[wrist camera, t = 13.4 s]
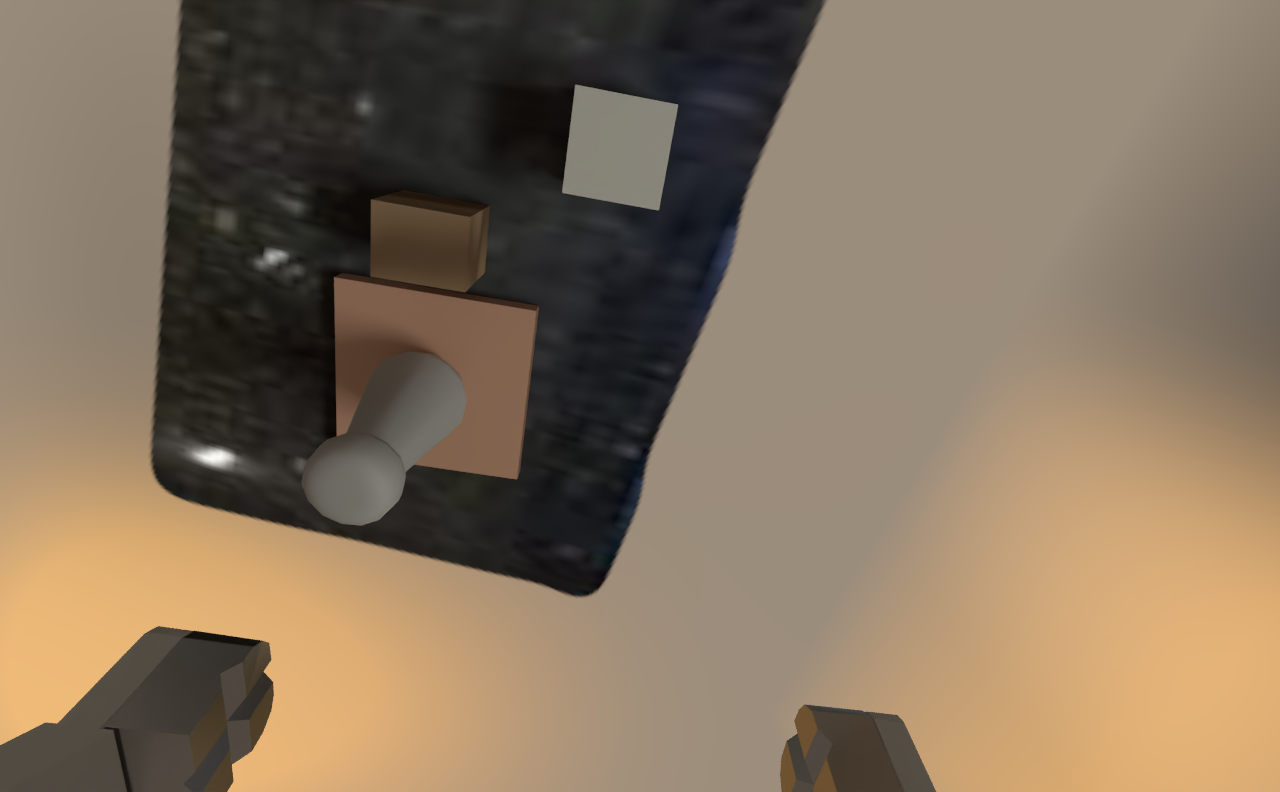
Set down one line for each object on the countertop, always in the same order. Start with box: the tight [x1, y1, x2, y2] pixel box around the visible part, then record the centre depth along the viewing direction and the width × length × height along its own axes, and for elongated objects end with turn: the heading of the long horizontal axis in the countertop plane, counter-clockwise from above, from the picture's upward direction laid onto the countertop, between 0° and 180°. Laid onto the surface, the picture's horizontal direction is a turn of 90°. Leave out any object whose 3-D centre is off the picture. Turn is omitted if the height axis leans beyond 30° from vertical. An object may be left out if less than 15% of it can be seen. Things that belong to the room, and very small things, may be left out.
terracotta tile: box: [334, 273, 539, 479], centre depth 40 cm, size 12×12×1 cm
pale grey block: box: [562, 85, 678, 210], centre depth 33 cm, size 5×5×5 cm
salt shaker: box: [302, 351, 467, 526], centre depth 34 cm, size 6×6×13 cm
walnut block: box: [371, 190, 490, 292], centre depth 35 cm, size 4×5×5 cm
